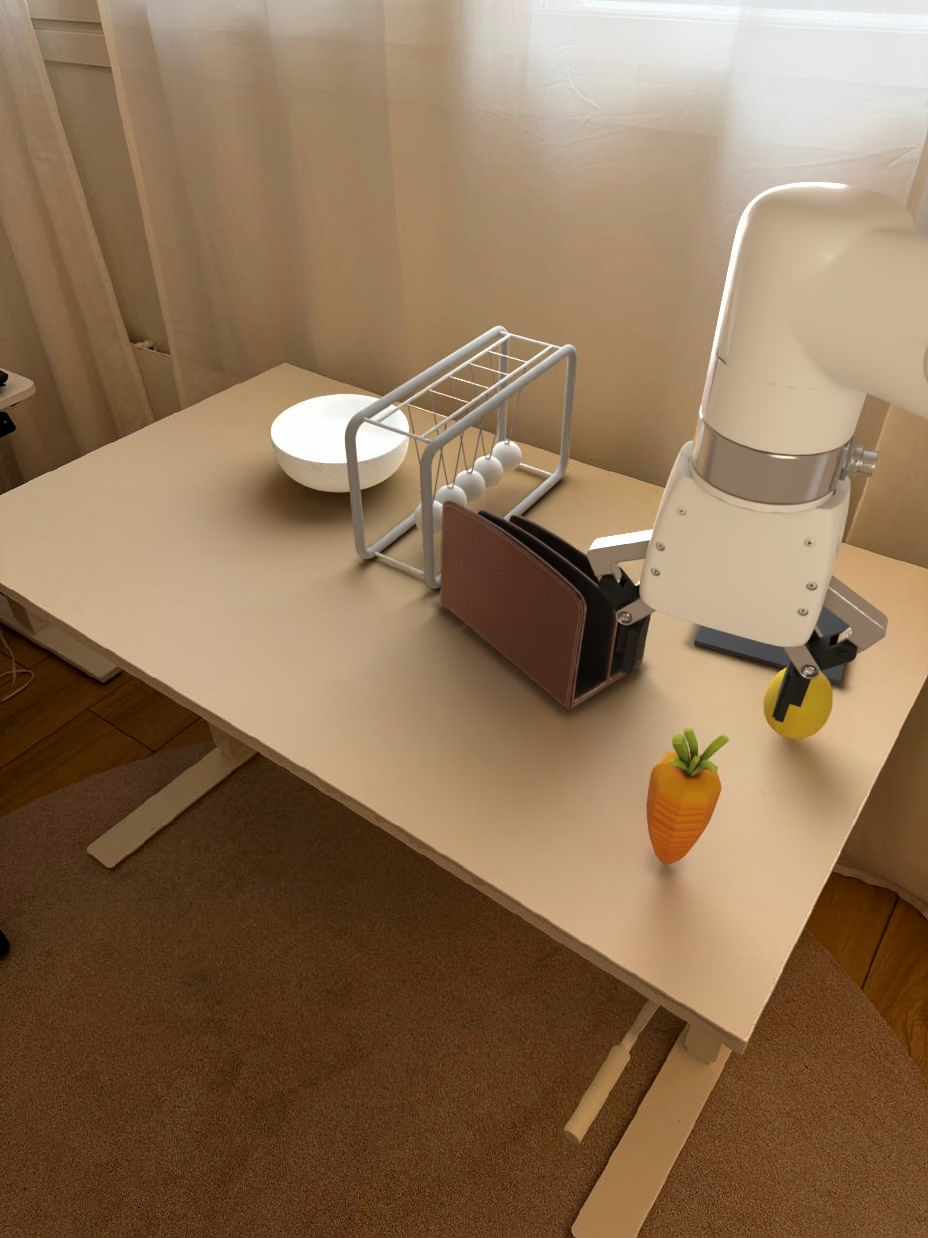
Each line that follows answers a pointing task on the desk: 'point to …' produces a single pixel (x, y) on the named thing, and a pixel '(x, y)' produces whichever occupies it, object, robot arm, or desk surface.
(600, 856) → the desk surface
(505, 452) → the newton's cradle
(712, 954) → the desk surface
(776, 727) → the lemon
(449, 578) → the letter holder
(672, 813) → the carrot
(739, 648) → the mat
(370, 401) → the cereal bowl
